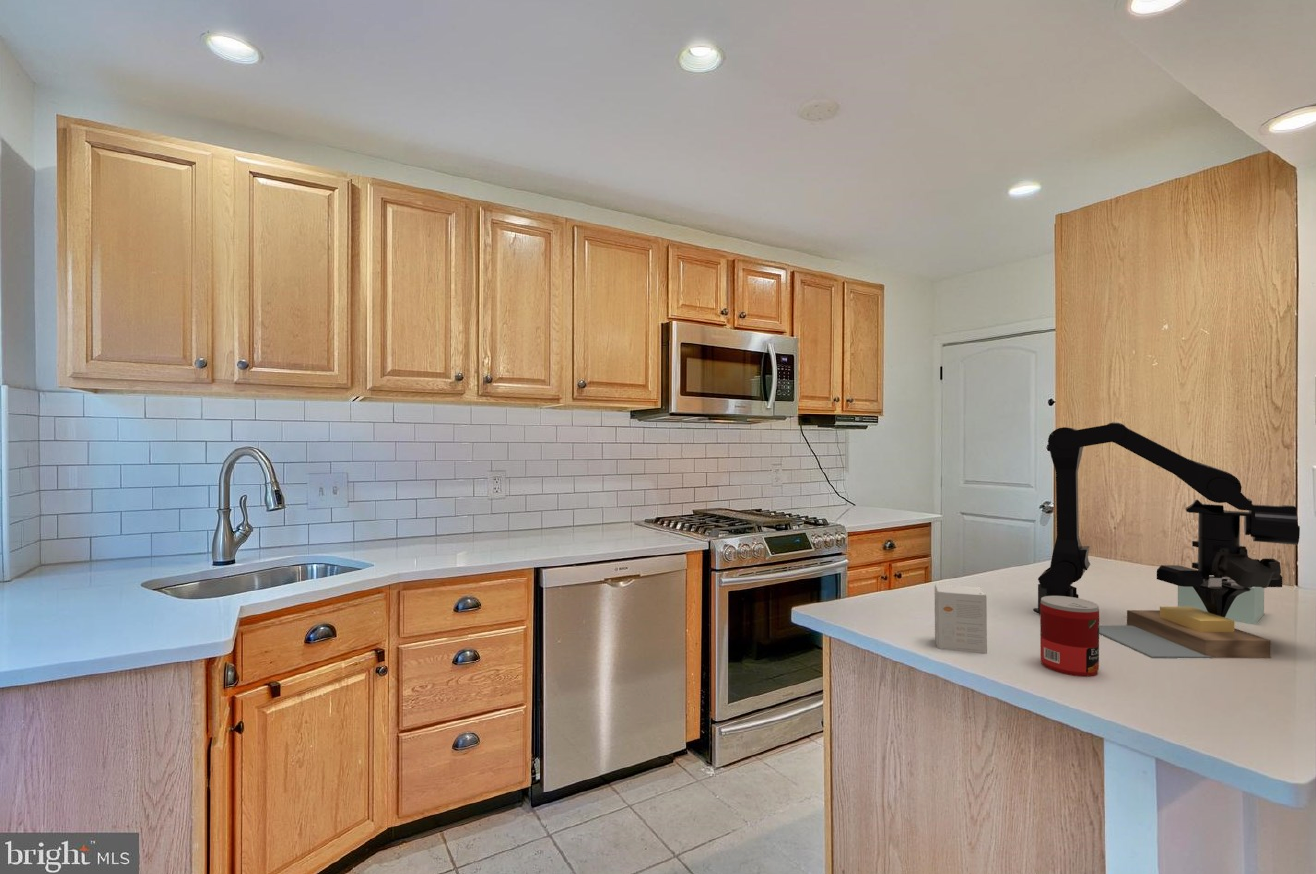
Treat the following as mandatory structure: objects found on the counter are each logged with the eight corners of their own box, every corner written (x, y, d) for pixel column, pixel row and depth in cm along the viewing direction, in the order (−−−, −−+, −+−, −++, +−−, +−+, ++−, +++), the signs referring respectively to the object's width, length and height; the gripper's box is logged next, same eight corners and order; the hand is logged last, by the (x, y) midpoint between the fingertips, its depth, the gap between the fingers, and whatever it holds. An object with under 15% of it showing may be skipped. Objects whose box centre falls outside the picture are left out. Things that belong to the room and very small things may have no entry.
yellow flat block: (1200, 632, 110) (1200, 620, 110) (1159, 617, 119) (1159, 606, 119) (1234, 632, 110) (1234, 620, 110) (1191, 617, 119) (1191, 606, 119)
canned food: (1100, 682, 96) (1101, 611, 95) (1040, 671, 100) (1040, 603, 100) (1097, 666, 102) (1097, 599, 102) (1040, 657, 106) (1040, 593, 106)
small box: (982, 644, 112) (982, 587, 112) (987, 655, 107) (987, 594, 107) (934, 640, 115) (934, 583, 115) (937, 650, 110) (937, 590, 110)
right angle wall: (1264, 614, 132) (1264, 579, 131) (1254, 625, 124) (1254, 588, 124) (1190, 602, 141) (1191, 569, 141) (1177, 611, 133) (1177, 577, 133)
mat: (1152, 658, 105) (1152, 656, 105) (1084, 627, 122) (1084, 625, 122) (1211, 658, 105) (1211, 656, 105) (1135, 627, 122) (1135, 625, 122)
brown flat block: (1205, 657, 106) (1205, 640, 106) (1126, 625, 124) (1127, 610, 124) (1270, 658, 106) (1270, 640, 106) (1182, 625, 124) (1182, 610, 124)
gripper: (1206, 546, 107) (1205, 636, 107) (1315, 546, 106) (1313, 637, 107) (1154, 535, 118) (1153, 617, 118) (1253, 535, 118) (1252, 617, 118)
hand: (1217, 622), depth 115 cm, fingers closed
